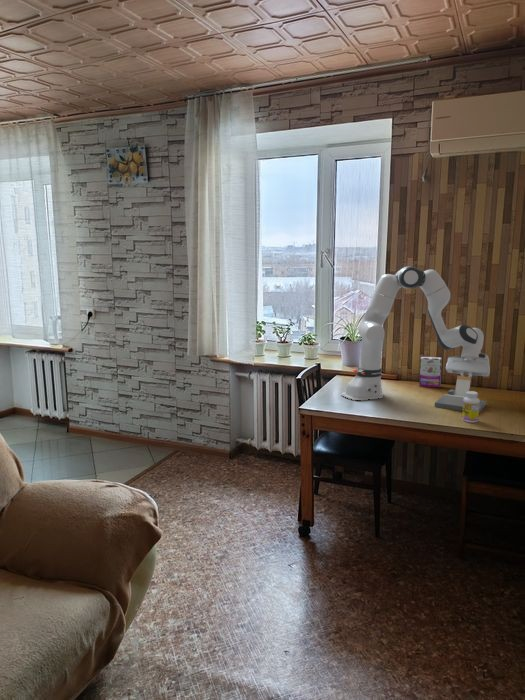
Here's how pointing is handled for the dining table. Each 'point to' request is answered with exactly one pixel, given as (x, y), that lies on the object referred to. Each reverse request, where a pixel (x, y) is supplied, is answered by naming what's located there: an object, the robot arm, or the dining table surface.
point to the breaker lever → (462, 385)
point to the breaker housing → (454, 402)
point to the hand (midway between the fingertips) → (464, 380)
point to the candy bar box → (430, 371)
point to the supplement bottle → (470, 407)
